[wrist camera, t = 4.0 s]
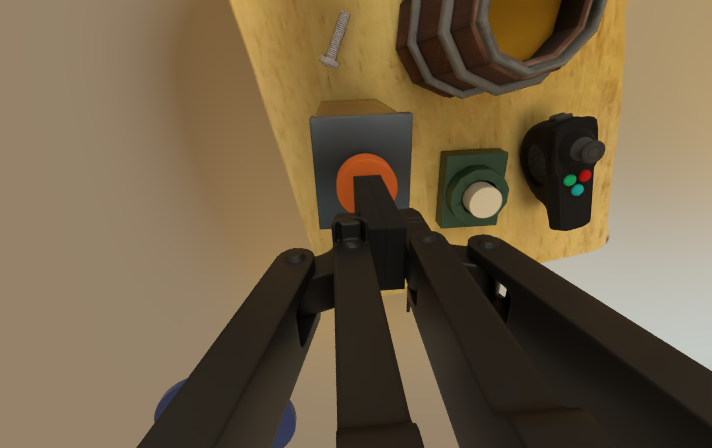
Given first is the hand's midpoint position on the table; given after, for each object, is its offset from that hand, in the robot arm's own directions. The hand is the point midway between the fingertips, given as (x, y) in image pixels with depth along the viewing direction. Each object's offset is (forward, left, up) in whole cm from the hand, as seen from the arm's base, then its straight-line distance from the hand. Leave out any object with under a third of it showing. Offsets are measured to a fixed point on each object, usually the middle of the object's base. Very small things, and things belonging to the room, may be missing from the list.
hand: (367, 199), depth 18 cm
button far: (-7, -14, -16) cm, 23 cm away
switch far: (-7, -14, -20) cm, 25 cm away
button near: (0, 0, -3) cm, 3 cm away
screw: (+9, +1, -20) cm, 22 cm away
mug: (+12, -10, -20) cm, 25 cm away
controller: (-4, -22, -20) cm, 30 cm away
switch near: (0, 0, -20) cm, 20 cm away
